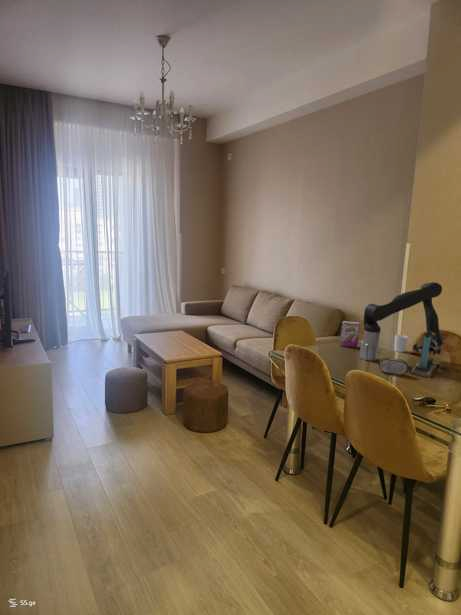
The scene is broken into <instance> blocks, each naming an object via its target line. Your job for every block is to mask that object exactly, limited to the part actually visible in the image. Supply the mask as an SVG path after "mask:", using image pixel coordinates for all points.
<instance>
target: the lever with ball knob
mask: <svg viewBox="0 0 461 615" xmlns="http://www.w3.org/2000/svg"><path fill="white" fill-rule="evenodd" d="M432 335H434V333H433V332H431V331H429V330H427V329H426V330H425V331H424V332H423V342H422V344H423V349H422V351H421V356H420V359H421V362H420V363H419V364H418V366H417V369H419V370H424V371H429V369H430V367H431V365H430V364H431V361H428V358H429V355H430V354H429V349H430V342H431V337H432Z"/></svg>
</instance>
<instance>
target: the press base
mask: <svg viewBox="0 0 461 615" xmlns="http://www.w3.org/2000/svg"><path fill="white" fill-rule="evenodd" d="M428 361H431V364H430V365H431V367H430V369H429V371H424V370H419V369H417V366H418V364H419V363H420V362H421V358H419V359H418V360H417V361H416V363H415V364H414V366H412V369H411V370H410V371H409V373H410V375H414V376H415V375H416V376H419V377H424V378H428V379H430V378H431V377H432V376H433V373H434V371H435V370H436V368H437V366H438V364H439V362H438V361H435V360H434V358H432V357H428Z"/></svg>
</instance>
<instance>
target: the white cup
mask: <svg viewBox="0 0 461 615" xmlns="http://www.w3.org/2000/svg"><path fill="white" fill-rule="evenodd" d="M408 339H409V337H408V335H404V334H395V335H394V346H393V347H394V348H393V350H394V351H395V352H397V353H398V352H399V353H405V352H406V349H407V343H408Z"/></svg>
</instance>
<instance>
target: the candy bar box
mask: <svg viewBox="0 0 461 615" xmlns="http://www.w3.org/2000/svg"><path fill="white" fill-rule="evenodd" d="M341 323H342V324H341V330H340V331H341V333H340V341H339V346H340V347H348V348H353V349H355V348H356V349H357V348H358V342H359V333H360V327H361V326H360V325H361V323H360V322H356V321H355V322H354V321H348V320H347V321H346V320H343V321H342V322H341Z"/></svg>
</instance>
